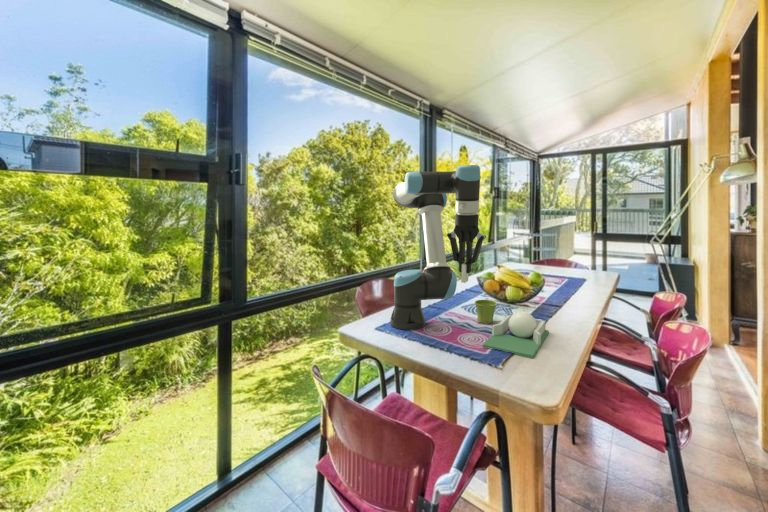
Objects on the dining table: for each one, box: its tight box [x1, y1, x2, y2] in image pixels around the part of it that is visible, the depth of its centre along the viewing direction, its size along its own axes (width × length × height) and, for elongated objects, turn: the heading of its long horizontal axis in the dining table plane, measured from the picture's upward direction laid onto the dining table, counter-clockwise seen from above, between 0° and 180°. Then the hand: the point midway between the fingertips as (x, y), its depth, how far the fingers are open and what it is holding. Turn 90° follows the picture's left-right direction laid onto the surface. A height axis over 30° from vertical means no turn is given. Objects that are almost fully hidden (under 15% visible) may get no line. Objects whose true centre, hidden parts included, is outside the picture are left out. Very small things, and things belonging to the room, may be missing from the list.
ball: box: [508, 311, 536, 339], centre depth 131 cm, size 10×10×10 cm
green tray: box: [482, 313, 550, 359], centre depth 129 cm, size 17×28×5 cm, turn 145°
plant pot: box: [474, 299, 498, 325], centre depth 150 cm, size 9×9×9 cm
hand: (464, 281), depth 118 cm, fingers closed
